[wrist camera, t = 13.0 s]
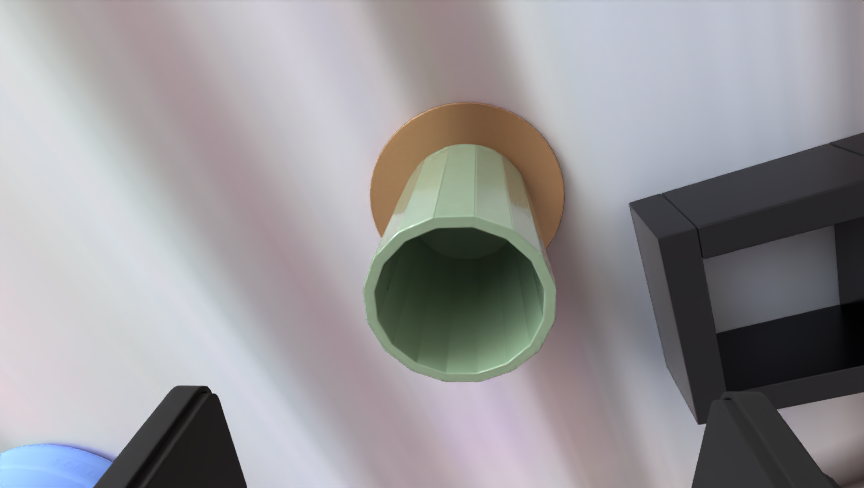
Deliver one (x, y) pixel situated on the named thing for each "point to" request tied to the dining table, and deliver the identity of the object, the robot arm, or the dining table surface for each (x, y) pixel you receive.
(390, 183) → the coaster
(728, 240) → the black square frame
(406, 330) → the cup
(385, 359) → the dining table surface
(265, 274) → the dining table surface
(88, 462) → the water jug
